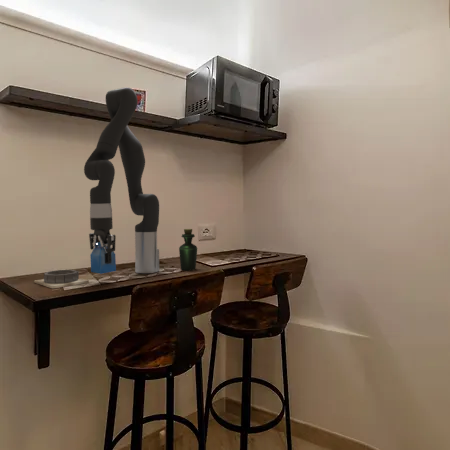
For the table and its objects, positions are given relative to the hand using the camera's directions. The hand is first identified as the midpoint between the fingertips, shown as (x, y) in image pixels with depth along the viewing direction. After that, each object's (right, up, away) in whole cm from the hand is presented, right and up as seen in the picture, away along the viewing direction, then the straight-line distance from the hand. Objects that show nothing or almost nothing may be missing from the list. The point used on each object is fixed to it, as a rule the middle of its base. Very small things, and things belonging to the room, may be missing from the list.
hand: (103, 262), depth 129 cm
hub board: (-15, -7, +1) cm, 17 cm away
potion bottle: (+28, -6, +30) cm, 41 cm away
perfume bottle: (0, -3, 0) cm, 4 cm away
